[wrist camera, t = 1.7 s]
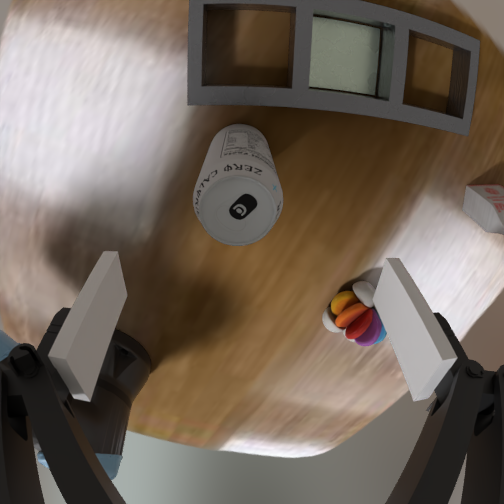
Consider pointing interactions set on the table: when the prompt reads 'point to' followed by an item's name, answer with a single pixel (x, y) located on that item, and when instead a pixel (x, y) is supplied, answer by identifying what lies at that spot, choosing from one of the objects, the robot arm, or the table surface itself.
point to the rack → (342, 62)
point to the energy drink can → (238, 187)
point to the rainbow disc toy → (356, 315)
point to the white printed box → (485, 206)
